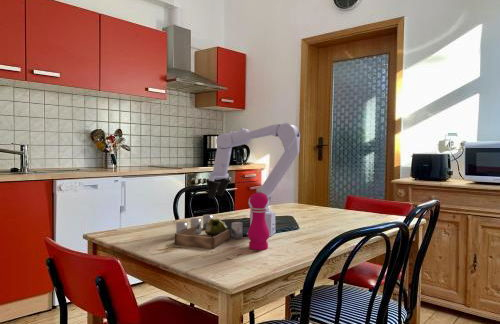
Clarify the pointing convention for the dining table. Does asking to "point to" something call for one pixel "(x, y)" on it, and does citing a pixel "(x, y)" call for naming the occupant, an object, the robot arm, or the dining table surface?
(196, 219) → the tin right near
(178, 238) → the tray
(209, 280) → the dining table surface
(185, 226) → the tin right far
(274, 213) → the robot arm
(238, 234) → the tin left
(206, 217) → the grey metal cylinder
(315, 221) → the dining table surface
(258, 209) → the pepper mill
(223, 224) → the pale green lumpy ball
